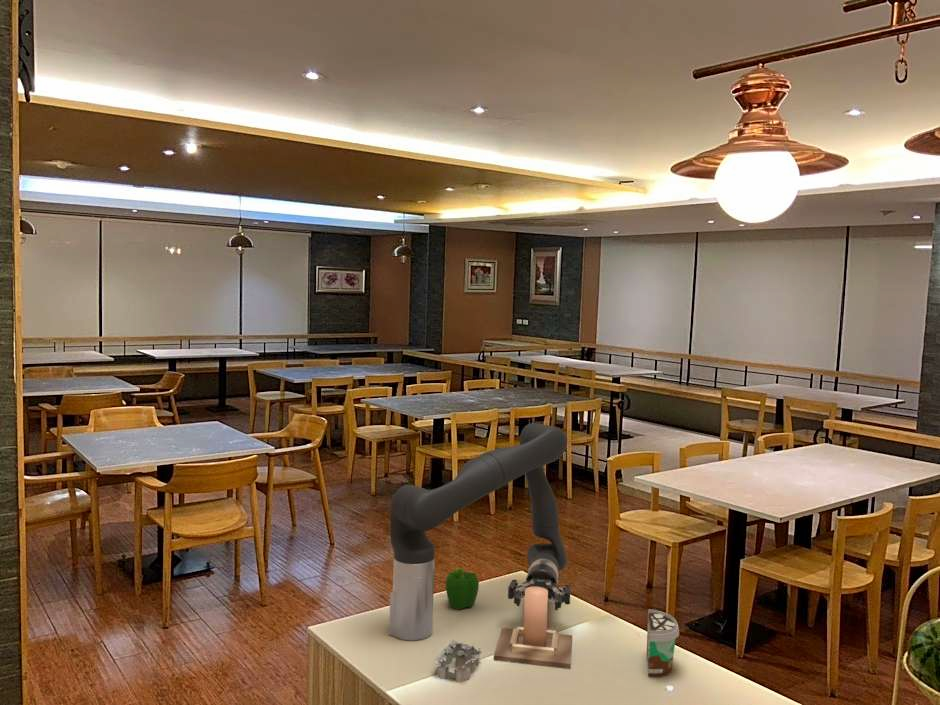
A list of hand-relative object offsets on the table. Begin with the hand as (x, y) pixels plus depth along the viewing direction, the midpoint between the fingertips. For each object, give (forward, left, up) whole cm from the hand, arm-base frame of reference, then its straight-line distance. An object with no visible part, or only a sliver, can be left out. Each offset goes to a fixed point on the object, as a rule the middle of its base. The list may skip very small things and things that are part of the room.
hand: (537, 603), depth 162 cm
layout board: (0, -3, -9) cm, 9 cm away
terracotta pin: (0, -3, -8) cm, 9 cm away
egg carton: (-15, -16, -9) cm, 23 cm away
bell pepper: (-20, +17, -9) cm, 28 cm away
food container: (+27, -5, -9) cm, 29 cm away
